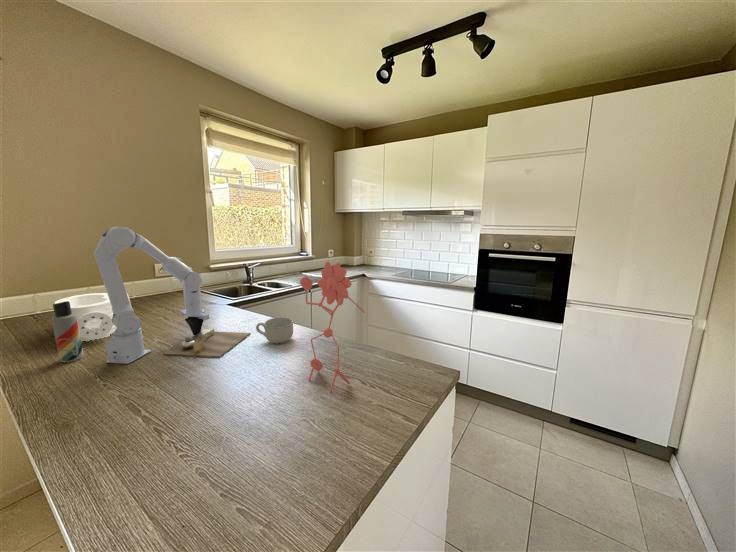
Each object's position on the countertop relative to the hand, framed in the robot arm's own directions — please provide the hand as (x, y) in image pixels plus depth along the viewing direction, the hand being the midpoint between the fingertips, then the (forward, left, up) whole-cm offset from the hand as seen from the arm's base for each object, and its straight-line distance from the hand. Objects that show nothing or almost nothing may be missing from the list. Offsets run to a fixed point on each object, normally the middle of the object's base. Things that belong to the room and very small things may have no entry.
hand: (196, 334), depth 116 cm
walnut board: (-4, -8, -2) cm, 10 cm away
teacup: (+1, -32, -2) cm, 32 cm away
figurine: (-23, -61, -2) cm, 65 cm away
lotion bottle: (-21, +30, -2) cm, 37 cm away
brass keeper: (-9, -9, -1) cm, 13 cm away
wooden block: (-4, -3, -1) cm, 5 cm away
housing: (+5, +48, -2) cm, 48 cm away
